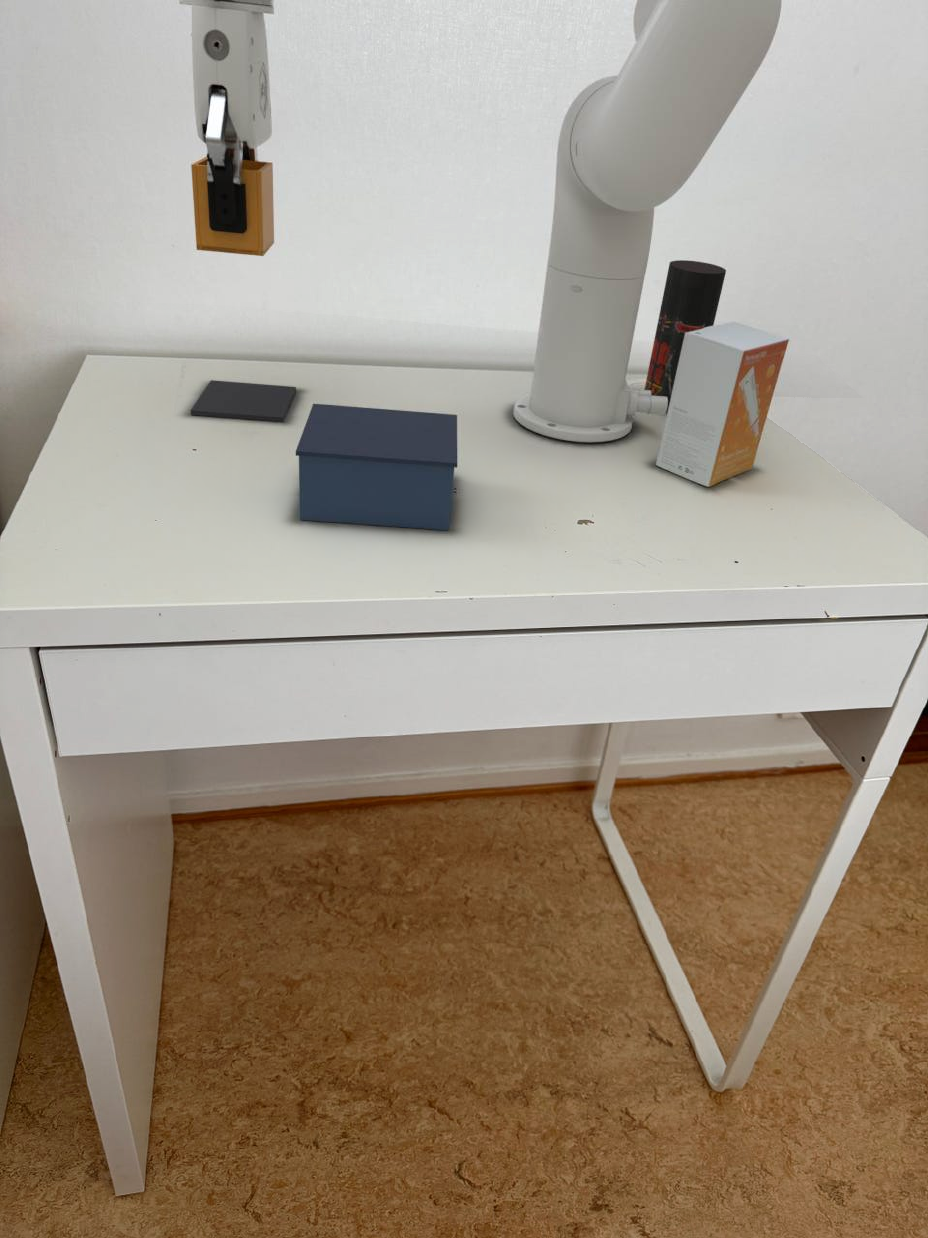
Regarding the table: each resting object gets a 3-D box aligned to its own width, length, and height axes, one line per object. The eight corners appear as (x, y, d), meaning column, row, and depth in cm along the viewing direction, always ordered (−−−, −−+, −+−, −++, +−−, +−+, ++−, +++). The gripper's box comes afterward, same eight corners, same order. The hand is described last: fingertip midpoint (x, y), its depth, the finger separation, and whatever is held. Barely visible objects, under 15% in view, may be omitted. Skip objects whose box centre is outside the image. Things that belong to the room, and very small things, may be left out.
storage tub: (451, 478, 82) (457, 414, 79) (451, 532, 73) (457, 462, 70) (313, 467, 82) (313, 403, 78) (296, 520, 73) (295, 450, 70)
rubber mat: (296, 391, 97) (296, 386, 97) (283, 422, 90) (283, 417, 90) (211, 384, 97) (210, 379, 97) (190, 414, 89) (190, 410, 89)
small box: (708, 489, 85) (744, 350, 78) (653, 465, 89) (682, 330, 81) (754, 469, 90) (791, 337, 83) (700, 448, 94) (731, 319, 86)
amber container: (274, 242, 88) (272, 162, 84) (263, 256, 83) (261, 171, 79) (211, 236, 87) (206, 155, 84) (196, 249, 82) (191, 164, 79)
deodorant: (655, 391, 108) (683, 257, 100) (702, 404, 105) (734, 268, 97) (633, 402, 103) (660, 264, 95) (681, 417, 101) (713, 276, 93)
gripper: (253, -11, 67) (260, 247, 77) (288, -5, 82) (291, 212, 92) (150, -22, 67) (170, 239, 77) (204, -14, 81) (215, 204, 91)
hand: (236, 222), depth 84 cm, fingers closed on amber container, 6 cm apart
